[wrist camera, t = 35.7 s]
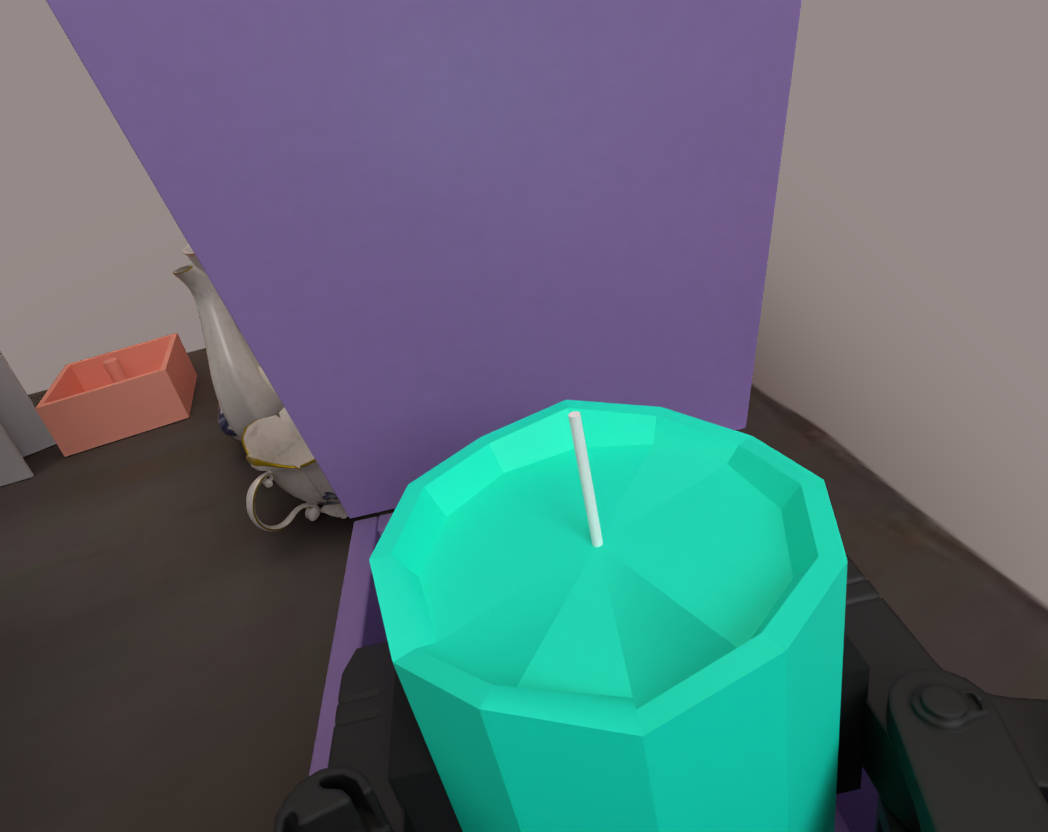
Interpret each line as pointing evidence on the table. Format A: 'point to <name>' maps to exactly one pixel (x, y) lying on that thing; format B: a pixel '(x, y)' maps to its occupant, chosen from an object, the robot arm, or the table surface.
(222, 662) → the table surface
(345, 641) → the box
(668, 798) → the candle
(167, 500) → the table surface
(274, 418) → the chinaware
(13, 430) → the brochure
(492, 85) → the lid
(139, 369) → the pottery
